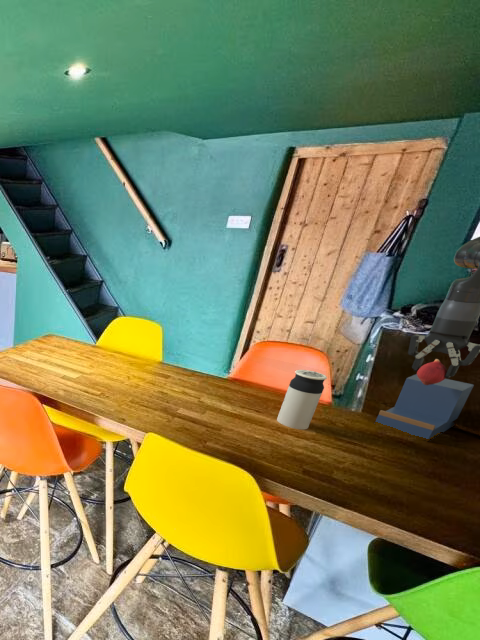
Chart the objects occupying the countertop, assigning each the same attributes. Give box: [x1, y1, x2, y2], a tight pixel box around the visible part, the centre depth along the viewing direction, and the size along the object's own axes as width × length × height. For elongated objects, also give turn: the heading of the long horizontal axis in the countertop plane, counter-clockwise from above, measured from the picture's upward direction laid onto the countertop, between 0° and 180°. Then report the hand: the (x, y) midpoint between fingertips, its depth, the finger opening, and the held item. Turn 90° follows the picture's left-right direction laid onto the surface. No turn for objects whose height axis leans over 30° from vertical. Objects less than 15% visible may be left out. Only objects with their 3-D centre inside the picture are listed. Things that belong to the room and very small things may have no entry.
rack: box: [375, 373, 475, 439], centre depth 124 cm, size 22×12×14 cm, turn 118°
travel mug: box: [276, 369, 328, 430], centre depth 123 cm, size 8×8×18 cm
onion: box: [416, 358, 448, 385], centre depth 117 cm, size 6×6×8 cm
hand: (431, 373), depth 118 cm, fingers closed on onion, 6 cm apart
